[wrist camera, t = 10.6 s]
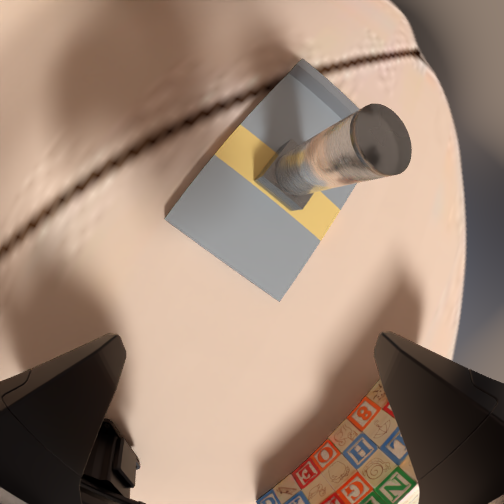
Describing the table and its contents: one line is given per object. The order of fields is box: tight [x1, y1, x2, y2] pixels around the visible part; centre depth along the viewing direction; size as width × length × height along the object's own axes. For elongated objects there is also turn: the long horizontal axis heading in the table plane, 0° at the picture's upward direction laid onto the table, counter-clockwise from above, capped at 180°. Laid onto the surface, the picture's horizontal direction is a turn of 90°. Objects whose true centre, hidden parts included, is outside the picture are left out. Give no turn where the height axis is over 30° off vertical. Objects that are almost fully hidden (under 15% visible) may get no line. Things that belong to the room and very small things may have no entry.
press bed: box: [165, 59, 360, 302], centre depth 20 cm, size 16×10×2 cm, turn 144°
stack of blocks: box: [256, 379, 419, 504], centre depth 19 cm, size 21×6×12 cm, turn 139°
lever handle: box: [254, 104, 412, 211], centre depth 15 cm, size 3×3×11 cm
